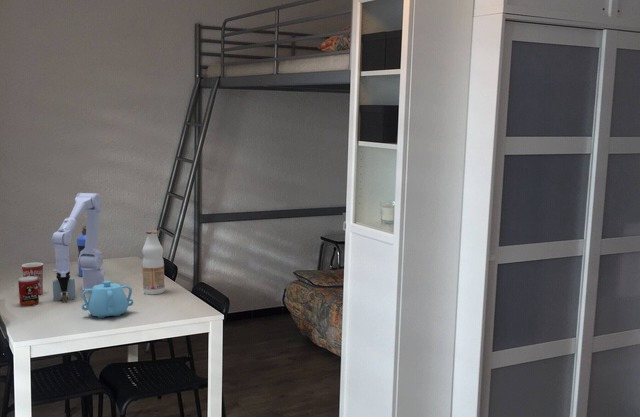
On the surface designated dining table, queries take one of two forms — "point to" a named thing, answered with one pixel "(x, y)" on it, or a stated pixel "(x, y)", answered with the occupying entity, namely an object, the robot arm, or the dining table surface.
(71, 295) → the slim blue-grey slab
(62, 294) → the rail
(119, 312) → the decorative pot
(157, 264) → the fruit juice
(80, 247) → the water bottle
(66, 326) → the dining table surface
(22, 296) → the canned food
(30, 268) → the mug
